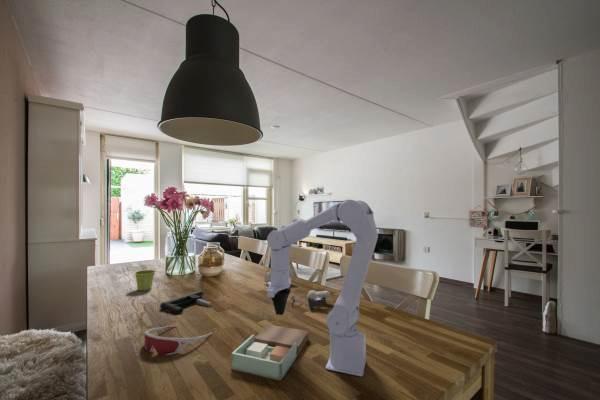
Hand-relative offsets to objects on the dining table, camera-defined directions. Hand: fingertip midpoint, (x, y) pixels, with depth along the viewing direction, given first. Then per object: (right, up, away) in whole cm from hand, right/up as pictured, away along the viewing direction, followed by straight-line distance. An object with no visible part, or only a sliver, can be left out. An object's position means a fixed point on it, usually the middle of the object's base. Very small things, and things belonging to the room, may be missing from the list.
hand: (279, 313), depth 82 cm
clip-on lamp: (+10, -11, +35) cm, 38 cm away
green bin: (-3, -9, -10) cm, 14 cm away
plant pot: (-73, -11, +54) cm, 92 cm away
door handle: (-41, -11, +32) cm, 53 cm away
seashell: (-5, -12, +65) cm, 67 cm away
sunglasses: (-33, -10, +2) cm, 34 cm away
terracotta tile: (+1, -9, -9) cm, 12 cm away
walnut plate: (+1, -9, +1) cm, 9 cm away
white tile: (-6, -9, -6) cm, 12 cm away
